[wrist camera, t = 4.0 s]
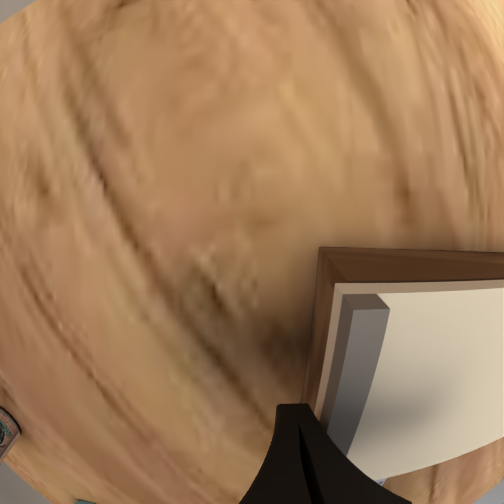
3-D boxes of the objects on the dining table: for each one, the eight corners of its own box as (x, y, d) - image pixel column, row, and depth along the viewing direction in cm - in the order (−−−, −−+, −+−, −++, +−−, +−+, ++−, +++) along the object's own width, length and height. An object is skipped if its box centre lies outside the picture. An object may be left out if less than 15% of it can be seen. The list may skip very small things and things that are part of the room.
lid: (516, 419, 13) (529, 435, 11) (298, 477, 13) (302, 507, 11) (575, 275, 10) (596, 285, 8) (335, 283, 10) (353, 310, 8)
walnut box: (489, 383, 19) (518, 415, 14) (298, 417, 19) (307, 472, 14) (531, 253, 16) (575, 273, 11) (319, 246, 16) (347, 280, 11)
